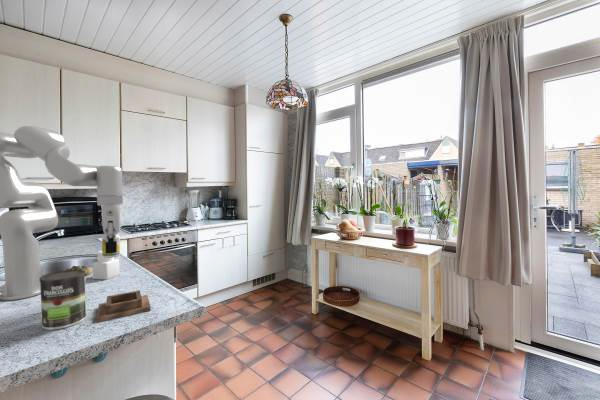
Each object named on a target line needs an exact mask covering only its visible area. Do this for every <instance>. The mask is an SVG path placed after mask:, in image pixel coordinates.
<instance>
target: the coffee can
mask: <svg viewBox="0 0 600 400" xmlns="http://www.w3.org/2000/svg"><path fill="white" fill-rule="evenodd" d="M65 270H66V269H65ZM65 270H60V271H55V272H51V273H47V274H44V275H41V277H40V279H39V280H40V287H41V294H40V302H41V303H40V305H41V329H42V330H47V331H54V330H55V331H56V330H63V329H66V328H69V327H73V326H75V325H78V324H79V323H82V322H83V321H84V320H86V319H87V317H88V316H87V296H86V295H87V293H86V292H87V291H86V276H85V273H86V272H85V271H84V270H66V271H65Z"/></svg>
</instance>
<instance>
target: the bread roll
mask: <svg viewBox="0 0 600 400" xmlns="http://www.w3.org/2000/svg"><path fill="white" fill-rule="evenodd" d="M66 270H84V271H85V272H86V273H85V275H87V276H89V275H88V274H90V273H92V274H93V268H91V267H90V266H85V265H72V267H67V268H66V269H65V270H64V271H66ZM90 275H91V274H90Z"/></svg>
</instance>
